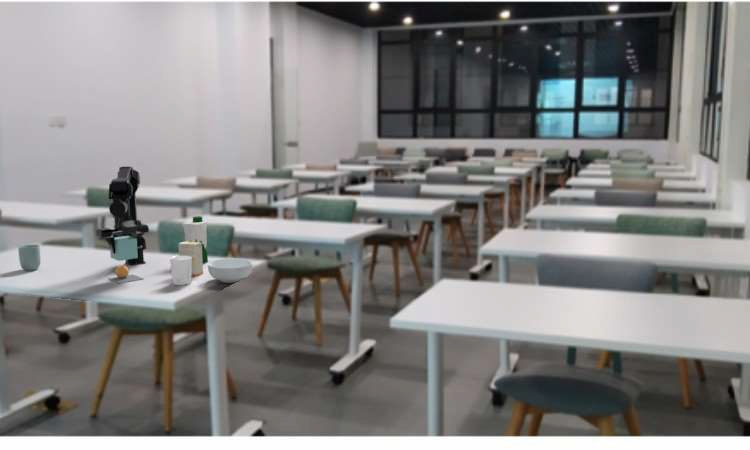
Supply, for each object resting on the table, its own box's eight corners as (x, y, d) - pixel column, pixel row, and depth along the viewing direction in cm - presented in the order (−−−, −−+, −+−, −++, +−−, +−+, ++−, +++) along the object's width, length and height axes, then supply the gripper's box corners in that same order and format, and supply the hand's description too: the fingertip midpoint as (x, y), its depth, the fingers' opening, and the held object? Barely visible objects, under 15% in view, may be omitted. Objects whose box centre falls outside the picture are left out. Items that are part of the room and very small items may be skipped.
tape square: (132, 274, 265) (132, 274, 265) (143, 279, 258) (143, 278, 258) (108, 278, 258) (108, 278, 258) (118, 283, 251) (118, 283, 251)
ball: (131, 270, 259) (129, 279, 261) (127, 262, 261) (125, 271, 264) (119, 272, 255) (117, 281, 258) (114, 263, 258) (112, 273, 261)
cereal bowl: (209, 287, 247) (208, 268, 246) (207, 276, 262) (207, 259, 261) (254, 284, 251) (254, 266, 250) (250, 274, 267) (250, 257, 266)
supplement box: (203, 273, 268) (202, 242, 266) (196, 276, 263) (195, 244, 261) (186, 271, 271) (185, 240, 268) (179, 274, 266) (178, 242, 264)
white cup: (173, 280, 256) (172, 255, 254) (194, 280, 256) (193, 255, 255) (169, 285, 248) (168, 260, 246) (190, 285, 249) (189, 259, 247)
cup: (45, 267, 277) (43, 244, 276) (34, 272, 270) (32, 248, 268) (27, 267, 278) (25, 244, 276) (16, 271, 270) (14, 247, 269)
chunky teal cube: (129, 254, 263) (128, 235, 261) (137, 257, 257) (136, 238, 256) (110, 257, 257) (109, 238, 256) (118, 260, 252) (117, 240, 251)
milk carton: (210, 261, 290) (209, 216, 287) (198, 265, 282) (196, 219, 279) (194, 259, 294) (192, 215, 290) (181, 263, 285) (179, 218, 282)
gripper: (106, 217, 242) (108, 258, 245) (154, 212, 255) (156, 251, 257) (94, 214, 250) (97, 254, 252) (141, 209, 263) (143, 247, 265)
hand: (124, 252), depth 257 cm, fingers closed on chunky teal cube, 8 cm apart
